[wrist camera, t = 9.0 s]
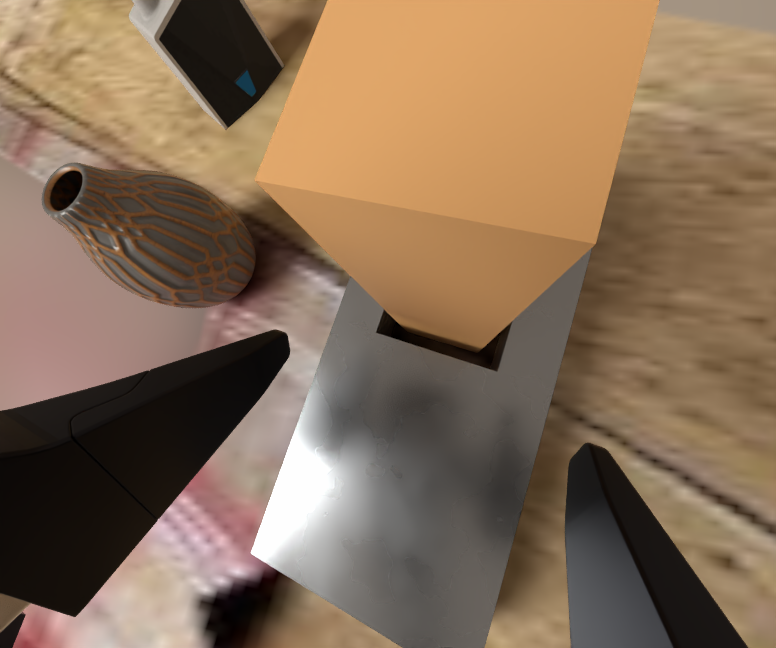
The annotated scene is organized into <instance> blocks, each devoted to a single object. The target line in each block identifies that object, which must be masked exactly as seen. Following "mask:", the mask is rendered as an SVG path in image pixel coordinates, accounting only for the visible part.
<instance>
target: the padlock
mask: <svg viewBox="0 0 776 648" xmlns="http://www.w3.org/2000/svg"><path fill="white" fill-rule="evenodd" d="M132 1H133V3H134V6H133V8H132V10H131V12H130V14H129V18H130V20H131V22H132V23H133V24H134V25H135V27H136V28H137V29H138V30H139V32H140V33H141V34H142V35H143V36H144V38H145V39H146V40H147V41H148V43H149V44H150V45H151V46H152V47H153V49H154V50H155V51H156V52H157V54H158V55H159V56H160V57H161V58H162V60H163V61H164V62H165V63H166V65H167V66H168V67H169V68H170V69H171V71H172V72H173V73H174V74H175V76H176V77H177V78H178V79H179V80H180V82H181V83H182V84H183V85H184V87H185V88H186V89H187V90H188V91H189V93H190V94H191V95H192V96H193V98H194V99H195V100H196V101H197V102H198V104H199V105H200V106H201V107H202V109H203V110H204V111H205V112H206V113H207V114H209V115H210V116H211V117H212V118H213V119H214V120H215V121H216V122H218V123H219V124H220V125H221V126H222V127H223V128H224V129H225V130H226V129H227V128H228V127H229V126H230V125H232V124H233V123H234V122H235V121H236V120H237V119H238V118H239V117H241V116H242V115H243V114H244V113H245V112H246V111H247V110H248V109H250V108H251V107H252V106H253V105H254V104H255V103H256V102H257V101H258V100H259V99H260V98H261V97H262V95H263V94H264V93H265V91H266V90H267V88H268V87H269V86H270V84H271V83H272V82H273V80H274V79H275V78H276V76H277V75H278V74H279V72H280V71H281V70H282V68H283V67H284V64H283V62H282V61H281V59H280V58H279V56H278V54H277V53H276V51H275V50H274V48H273V46H272V45H271V43H270V41H269V40H268V38H267V37H266V35H265V33H264V32H263V30H262V29H261V27H260V25H259V24H258V22H257V21H256V19H255V17H254V16H253V14H252V13H251V11H250V9H249V8H248V6H247V5H246V3H245V1H244V0H132Z"/></svg>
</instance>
